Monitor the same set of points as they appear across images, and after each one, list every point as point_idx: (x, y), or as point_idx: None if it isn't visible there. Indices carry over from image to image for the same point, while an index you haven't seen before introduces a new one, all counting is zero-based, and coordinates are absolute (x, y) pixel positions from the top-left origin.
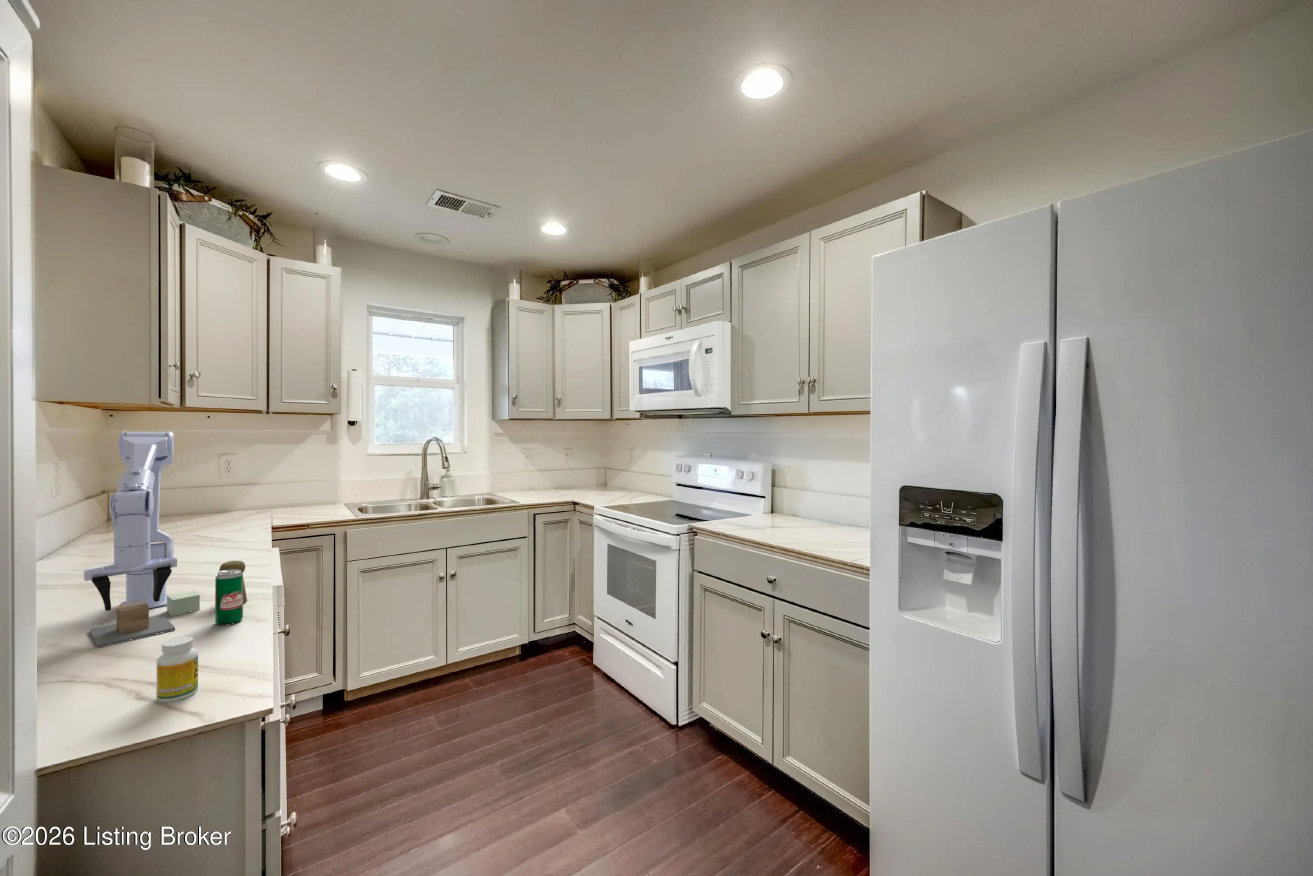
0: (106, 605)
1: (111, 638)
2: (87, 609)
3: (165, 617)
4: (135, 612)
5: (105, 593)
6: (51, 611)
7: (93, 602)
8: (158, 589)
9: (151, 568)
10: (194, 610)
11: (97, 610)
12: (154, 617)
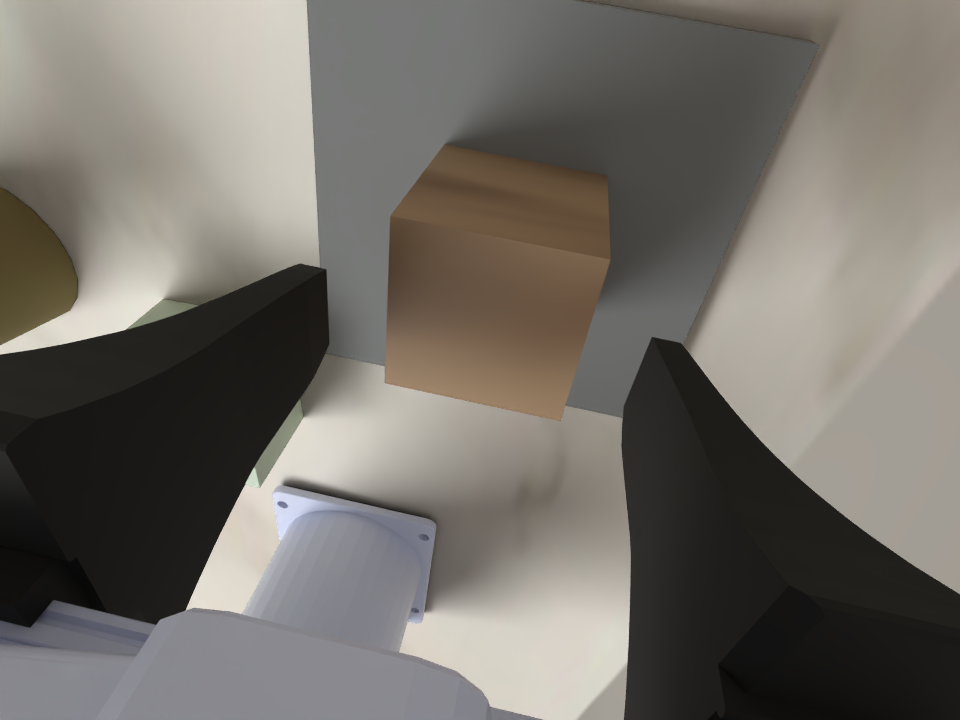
0: (698, 371)
1: (682, 127)
2: (515, 644)
3: None
4: (498, 221)
5: (758, 465)
6: (589, 696)
7: (476, 679)
8: (232, 315)
9: (107, 648)
10: (185, 305)
11: (498, 617)
12: (369, 340)
